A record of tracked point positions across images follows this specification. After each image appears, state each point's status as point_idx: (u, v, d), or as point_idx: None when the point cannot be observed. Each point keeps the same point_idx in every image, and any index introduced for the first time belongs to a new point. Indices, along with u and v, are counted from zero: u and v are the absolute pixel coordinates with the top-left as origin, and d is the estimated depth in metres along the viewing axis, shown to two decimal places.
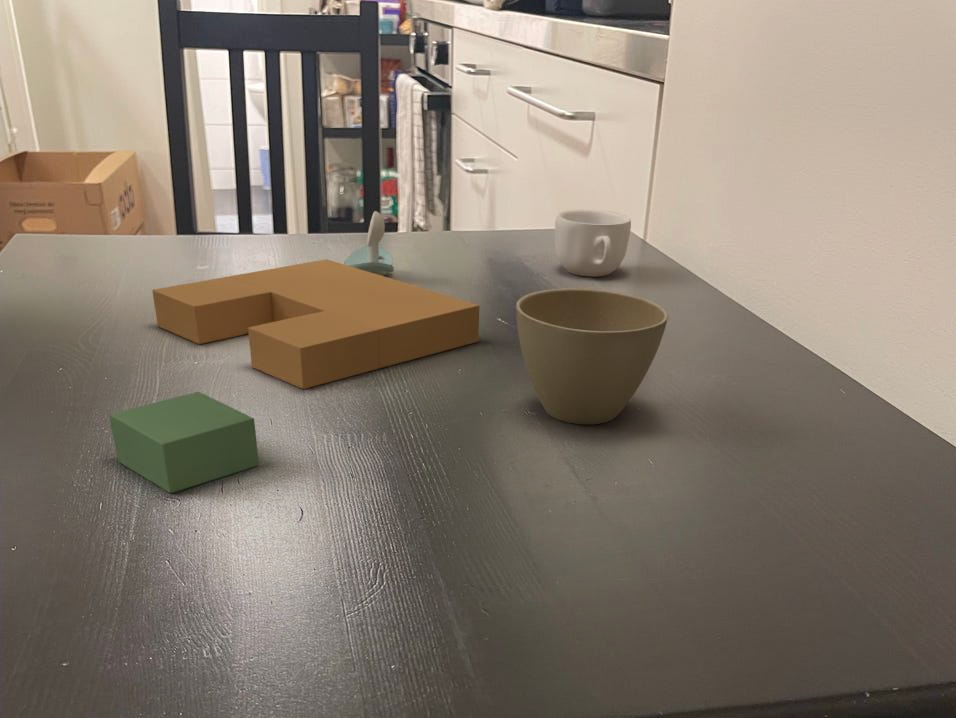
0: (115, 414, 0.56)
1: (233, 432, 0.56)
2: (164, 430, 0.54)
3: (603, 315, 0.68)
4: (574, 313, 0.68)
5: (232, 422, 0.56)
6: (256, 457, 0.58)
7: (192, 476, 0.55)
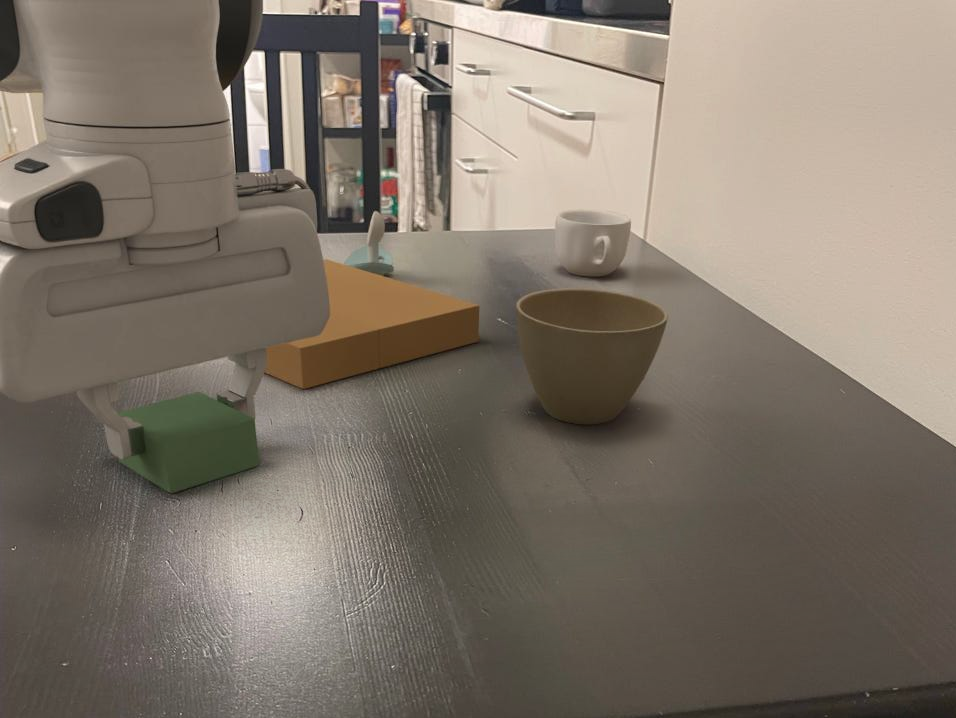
0: None
1: (233, 432, 0.56)
2: (164, 430, 0.54)
3: (603, 315, 0.68)
4: (574, 313, 0.68)
5: (232, 422, 0.56)
6: (257, 457, 0.58)
7: (193, 476, 0.55)
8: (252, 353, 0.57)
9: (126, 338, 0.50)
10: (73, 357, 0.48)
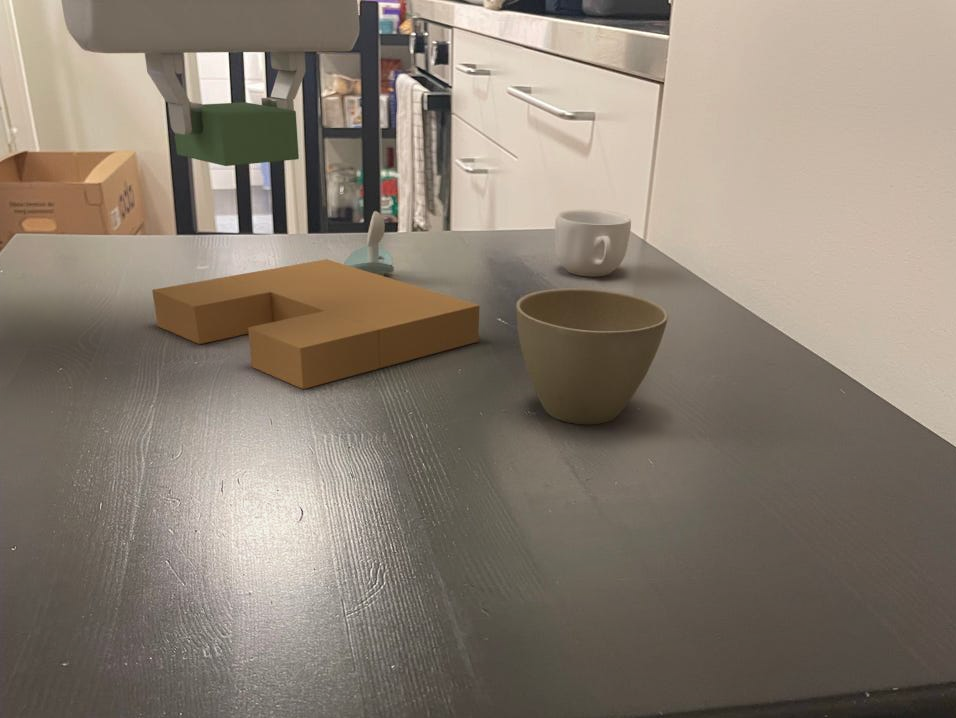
0: None
1: (277, 119, 0.65)
2: (219, 111, 0.64)
3: (603, 315, 0.68)
4: (574, 313, 0.68)
5: (277, 110, 0.65)
6: (297, 150, 0.67)
7: (243, 153, 0.64)
8: (293, 56, 0.66)
9: (191, 9, 0.59)
10: (148, 17, 0.58)
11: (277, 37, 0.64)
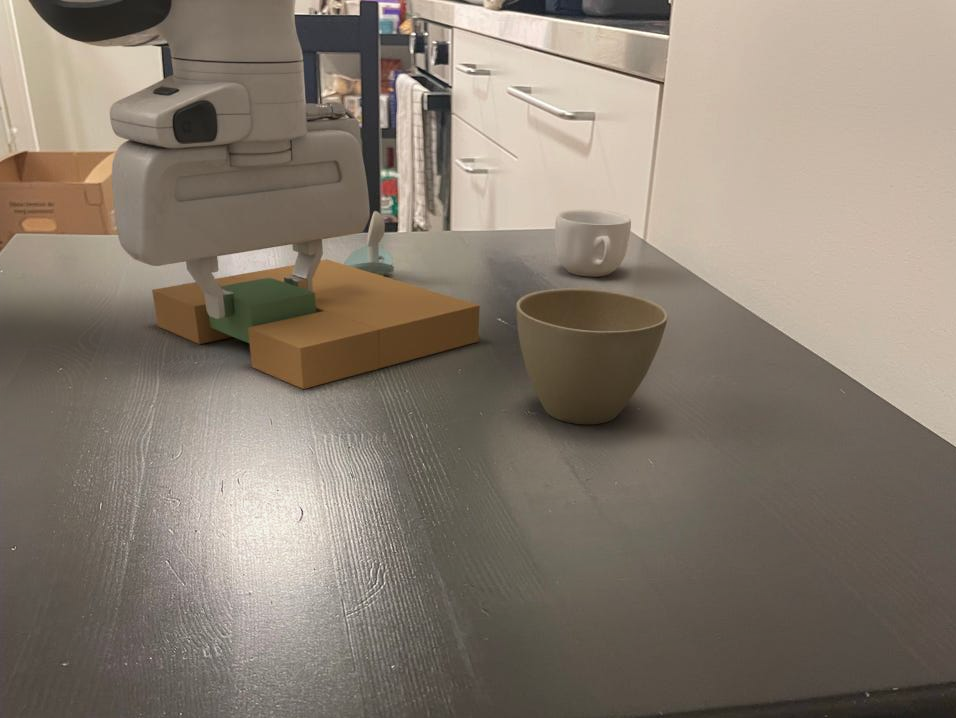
0: None
1: (299, 301, 0.74)
2: (249, 297, 0.73)
3: (603, 315, 0.68)
4: (574, 313, 0.68)
5: (298, 294, 0.74)
6: None
7: None
8: (312, 243, 0.75)
9: (226, 222, 0.69)
10: (190, 233, 0.67)
11: (299, 232, 0.73)
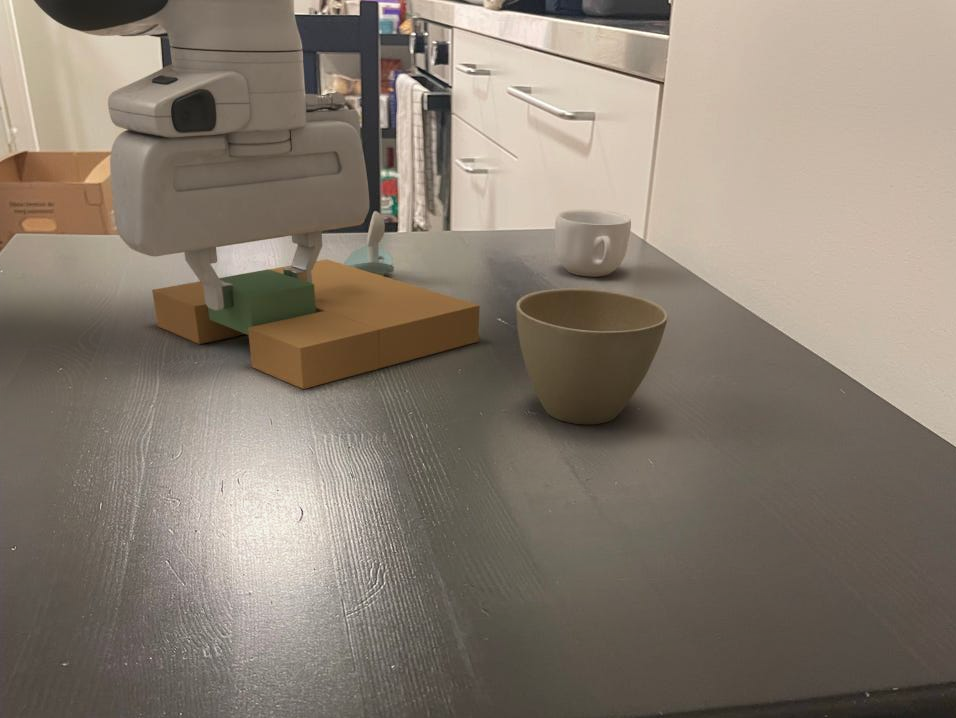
0: None
1: (298, 293, 0.74)
2: (248, 289, 0.73)
3: (603, 315, 0.68)
4: (574, 313, 0.68)
5: (298, 285, 0.74)
6: None
7: None
8: (312, 235, 0.75)
9: (225, 212, 0.68)
10: (189, 224, 0.67)
11: (298, 224, 0.73)
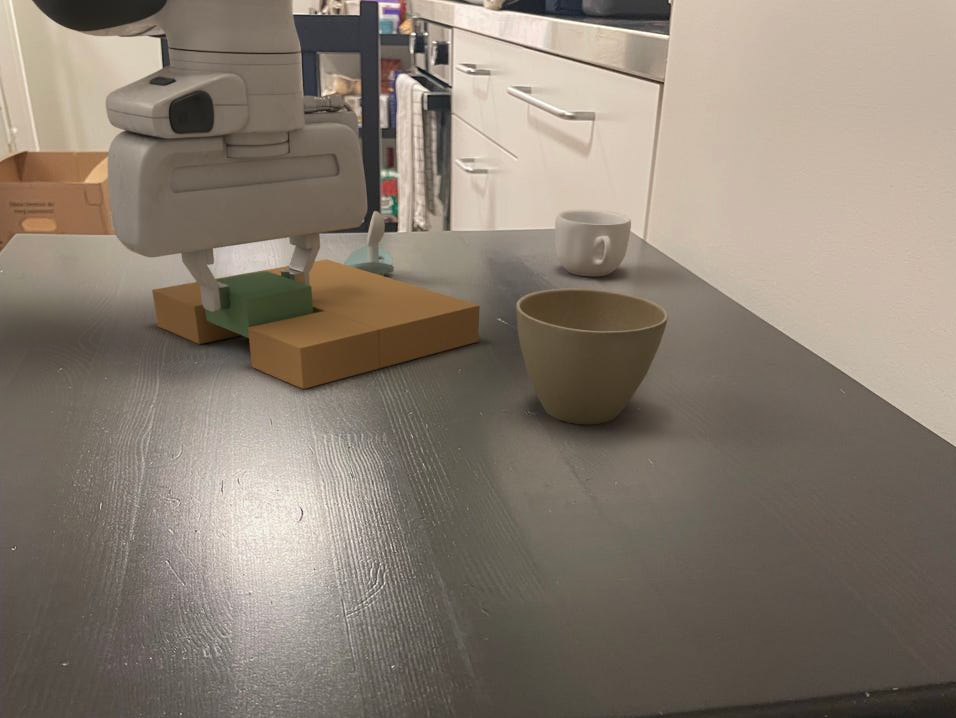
0: None
1: (295, 295, 0.74)
2: (245, 290, 0.72)
3: (603, 315, 0.68)
4: (574, 313, 0.68)
5: (295, 287, 0.74)
6: None
7: None
8: (309, 236, 0.75)
9: (222, 214, 0.68)
10: (186, 225, 0.67)
11: (296, 225, 0.73)
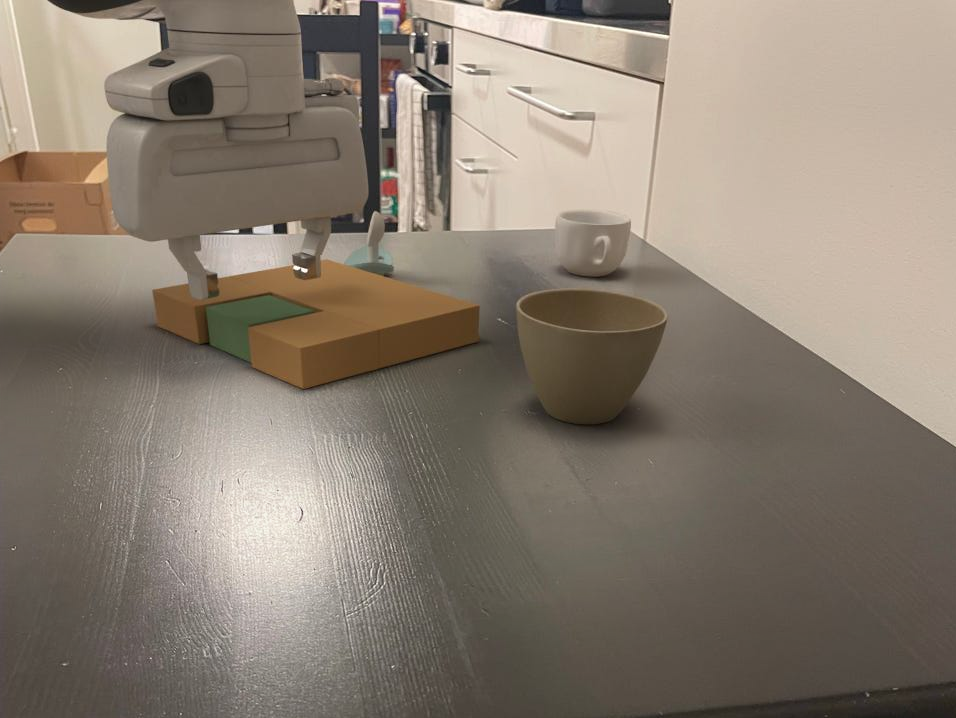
0: (210, 307, 0.75)
1: None
2: (248, 316, 0.73)
3: (603, 315, 0.68)
4: (574, 313, 0.68)
5: (297, 312, 0.75)
6: None
7: None
8: (321, 220, 0.75)
9: (222, 198, 0.68)
10: (186, 208, 0.66)
11: (296, 210, 0.72)
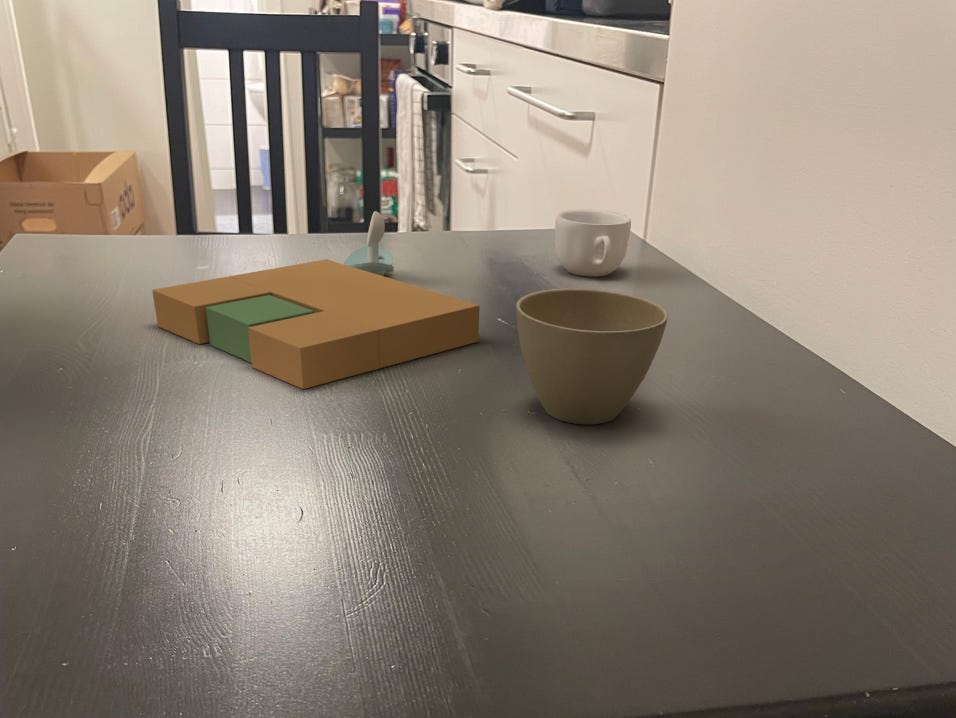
0: (210, 307, 0.75)
1: None
2: (248, 316, 0.73)
3: (603, 315, 0.68)
4: (574, 313, 0.68)
5: (297, 312, 0.75)
6: None
7: None
8: None
9: None
10: None
11: None
